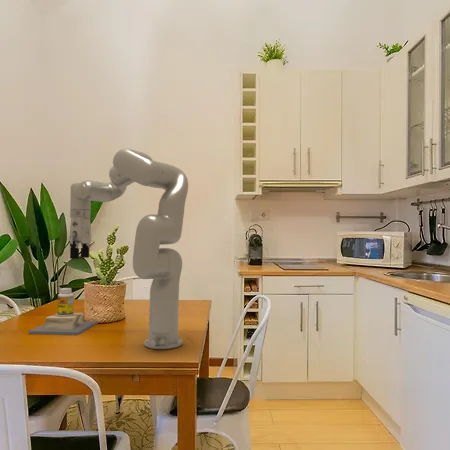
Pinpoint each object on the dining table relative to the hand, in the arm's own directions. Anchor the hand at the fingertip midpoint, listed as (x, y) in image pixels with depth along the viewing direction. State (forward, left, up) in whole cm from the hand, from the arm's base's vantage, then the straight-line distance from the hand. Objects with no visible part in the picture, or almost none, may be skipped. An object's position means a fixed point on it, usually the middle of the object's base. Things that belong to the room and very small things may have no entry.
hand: (79, 258), depth 149 cm
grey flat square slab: (-3, +4, -27) cm, 27 cm away
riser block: (-3, +4, -27) cm, 27 cm away
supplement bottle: (-4, +3, -22) cm, 23 cm away
